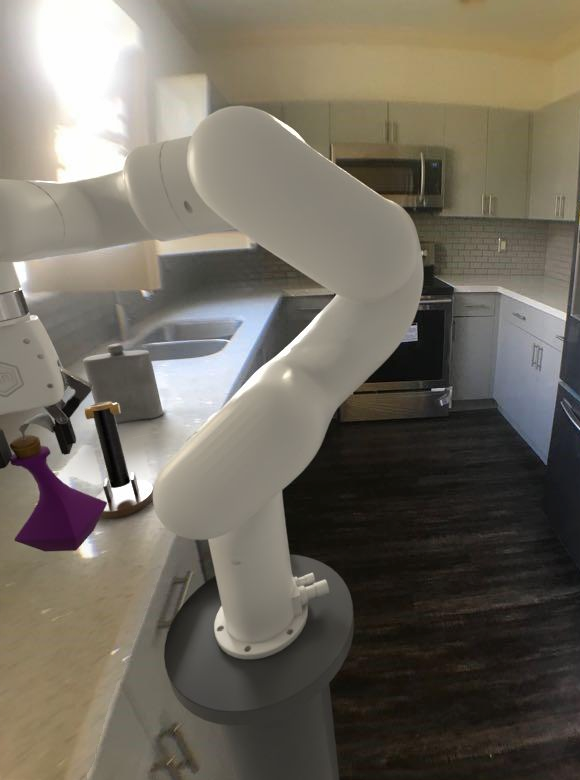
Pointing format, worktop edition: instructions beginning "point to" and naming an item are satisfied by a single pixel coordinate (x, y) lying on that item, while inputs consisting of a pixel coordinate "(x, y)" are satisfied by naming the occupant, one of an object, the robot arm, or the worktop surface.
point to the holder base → (125, 497)
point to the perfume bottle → (53, 498)
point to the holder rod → (110, 441)
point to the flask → (125, 382)
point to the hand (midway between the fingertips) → (37, 455)
